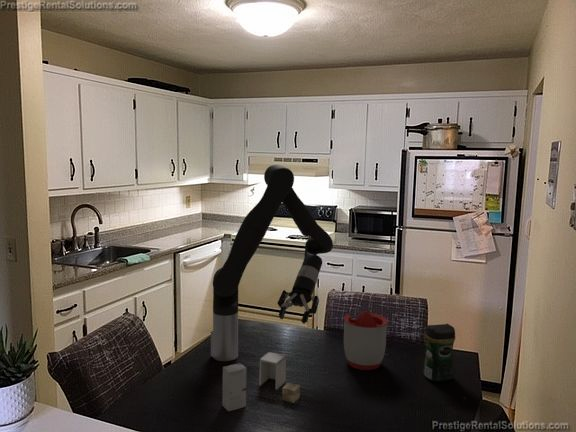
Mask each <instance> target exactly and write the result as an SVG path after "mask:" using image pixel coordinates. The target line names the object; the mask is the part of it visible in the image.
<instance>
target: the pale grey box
mask: <svg viewBox="0 0 576 432" xmlns="http://www.w3.org/2000/svg"><path fill="white" fill-rule="evenodd" d="M286 371H287V355H286V354H280V353H277V352H276V353H275V352H271V351H268V352H267V353H265V354H264V355H263V356H261V357H260V358H259V374H258V375H259V378H258V379H259V380H258V381H259V382H258V383H259V386H262V385H263V384H264V383H265V382H267V381H268V380H269V379H270V380H275V385H274V386H275V389H274V390H279V388H281V387H282V386H283V385H284V384H285V382H286V380H287V379H286V377H287V376H286V375H287V372H286Z"/></svg>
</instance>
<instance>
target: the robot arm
mask: <svg viewBox="0 0 576 432" xmlns="http://www.w3.org/2000/svg"><path fill="white" fill-rule="evenodd" d="M263 179H264V183H265V184H266V188H265V191H264V193H263V194H262V197H260V198H261V199H260V200H259V201H258V202H257V204H255V206H254V207H253V208H252V209H251V210H250V211H249V212H248V213H247V215H245V217H244V219H243V220H242V222H241V224H240V226H239V227H238V230H237V232H236V235H235V238H234V239H233V242H232V246H231V248H230V252H229V255H228V256H227V259H226V261H225V262H224V263H223V265H222V266H221V268H218V269H217V270H216V271H215V273H214V274H213V278H212V287H213V289H212V291H213V292H212V293H213V294H212V295H213V298H212V330H211V331H210V357H212V358H213V359H214V360H216V361H217V362H218V361H219V362H231V361H234V360H236V359H237V358H238V357H239V286H240V282H241V280H242V277H243V274H244V273H245V270H246V268H247V266H248V264H249V263H250V261H251V259H252V258H253V256H254V255H255V253H256V252H257V249H258V248H259V246H260V245H261V243H262V241H263V239H264V237H265V235H266V233H267V232H268V230H269V228H270V225H271V223H272V222H273V220H274V218H275V216H276V213H277V211H278V210H279V208H280V207H281V204H283V206H284V208H285V209H286V211H287V212H288V214H289V215H290V217H291V219H292V220H293V222H294V224H295V225H296V227H297V228H298V230H299V232H300V233H301V235H302V236H303V237H308V239H306V242H305V245H304V257H303V258H304V259H303V262H302V263H301V266H300V268H299V270H298V273H297V275H296V278H295V281H294V283H293V286H292V289H291V291H290V292H288V291H287V290H282V291H281V294H280V296H279V298H278V301H277V305H278V307H279V308H280V309H279V313H278V317H279V319H280V320H283V319H284V318H285V314H286V313H287V309H289V308H292V307H293V306H294V307H301V308H302V307H304V312H303V314H302V317H301V323H302V324H304V325H305V324H306V323H307V322H308V320H309V317H310V315H311V314H314V315H315V314H316V313H317V310H318V307H319V302H320V298H319V296H318V295H315V296H313V293H314V291H315V288H316V285H317V283H318V280H319V274H320V272H321V268H322V265H323V260H322V257H320V254H322V255H323V254H329V253H330V252H331V251H333V247H334V242H333V239H332V237H331V235H330V234H328V232H326V230H325V229H324V228H322V227H321V226H320V225H319V224H318V223H317V220H316V219H315V218H314V216H313V214H312V212H311V211H310V210H309V208H308V207H307V206H306V204H305V203H304V202H303V200H301V199H300V197H299V196H298V194H297V193H296V192H295V189H294V188H293V186H294V183H295V175H294V173H293V171H292V170H291V169H290V168H287V167H285V166H283V165H280V164H272V165H269V166H268V167H267V168H266V169H265V172H264V176H263ZM311 301H312V305H311V308H310V307H309V305H308V304H309V303H310V302H311Z"/></svg>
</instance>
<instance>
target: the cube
mask: <svg viewBox="0 0 576 432" xmlns="http://www.w3.org/2000/svg"><path fill="white" fill-rule="evenodd" d="M281 389H282V393H281V394H282V401H285V402H289V403H293V404H295V403H296V402H297V401H298V400H299V399H300V397H301V396H300V395H301V384H297V383H292V382H287V383H285V385H284V386H283V387H282V388H281ZM295 401H296V402H295Z"/></svg>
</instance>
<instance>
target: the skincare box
mask: <svg viewBox="0 0 576 432" xmlns="http://www.w3.org/2000/svg"><path fill="white" fill-rule="evenodd" d="M222 406H223V408H224V409H226V411H227V412H231V411H236V410H239V409H242V408H245V407H246V406H247V367H246V366H244V365H243V364H242V363H240V362H239V363H236V364H230V365H226V366H222Z"/></svg>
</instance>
